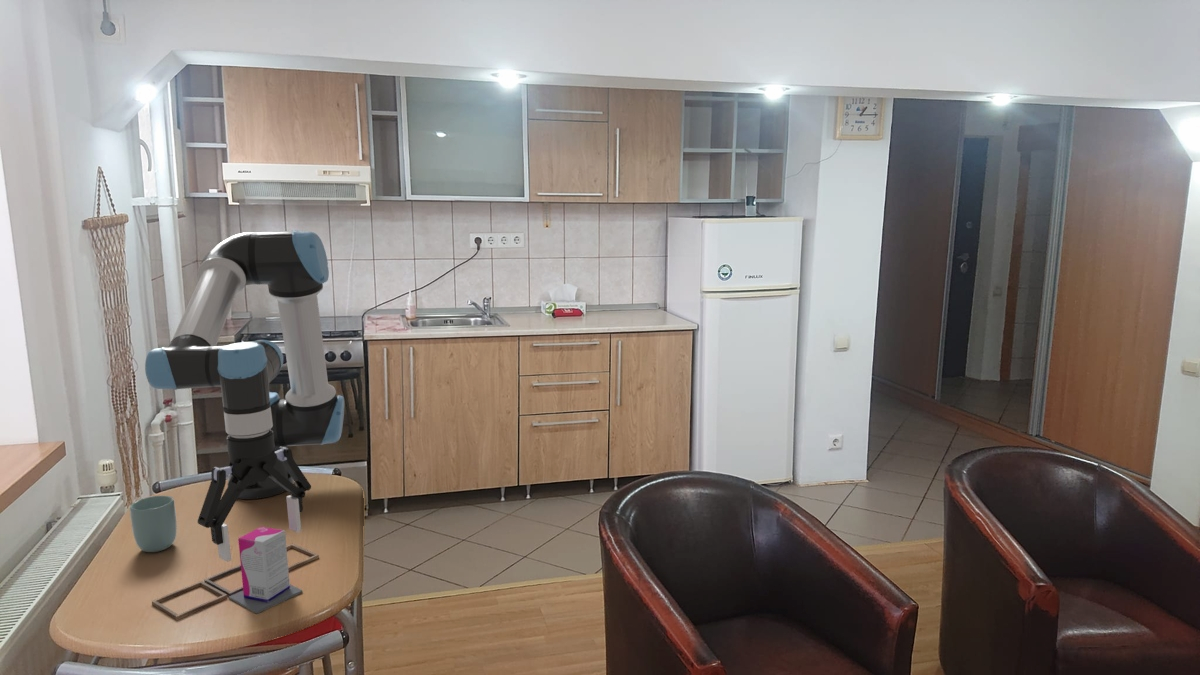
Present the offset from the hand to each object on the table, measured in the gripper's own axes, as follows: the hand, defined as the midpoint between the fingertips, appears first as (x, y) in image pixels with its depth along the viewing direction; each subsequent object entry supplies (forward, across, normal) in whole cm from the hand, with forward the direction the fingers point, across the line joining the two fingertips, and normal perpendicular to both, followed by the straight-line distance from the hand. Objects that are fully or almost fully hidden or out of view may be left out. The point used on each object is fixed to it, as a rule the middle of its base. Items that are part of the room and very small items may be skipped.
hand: (261, 544), depth 141 cm
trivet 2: (+10, -10, -9) cm, 17 cm away
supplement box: (+10, 0, 0) cm, 10 cm away
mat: (+10, 0, 0) cm, 10 cm away
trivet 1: (+10, +9, -9) cm, 16 cm away
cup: (+10, +2, -36) cm, 38 cm away
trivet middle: (+10, 0, -9) cm, 13 cm away
